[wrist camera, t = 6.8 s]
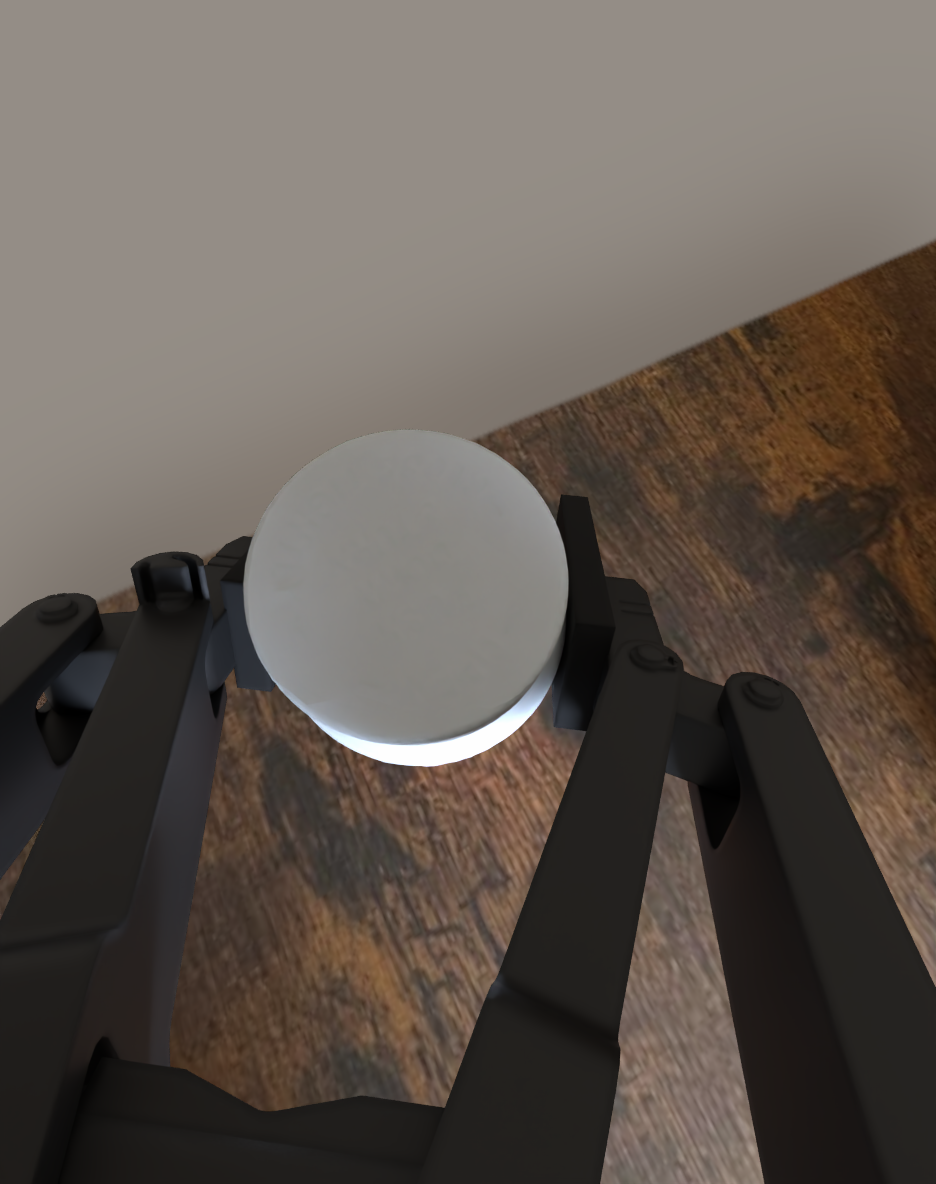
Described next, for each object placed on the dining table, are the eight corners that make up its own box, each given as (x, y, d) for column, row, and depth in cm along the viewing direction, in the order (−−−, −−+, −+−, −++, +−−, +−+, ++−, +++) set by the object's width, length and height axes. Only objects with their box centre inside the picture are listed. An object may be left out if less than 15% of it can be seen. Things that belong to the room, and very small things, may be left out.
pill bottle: (344, 585, 21) (198, 417, 10) (517, 564, 21) (566, 374, 10) (358, 766, 19) (206, 808, 8) (543, 741, 19) (636, 751, 8)
